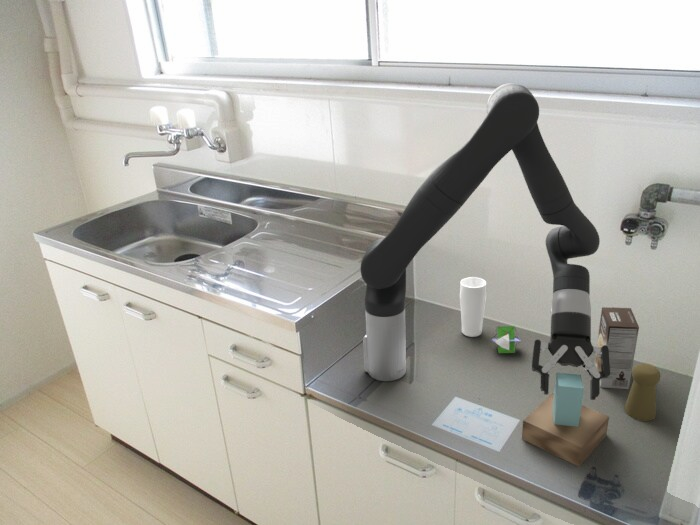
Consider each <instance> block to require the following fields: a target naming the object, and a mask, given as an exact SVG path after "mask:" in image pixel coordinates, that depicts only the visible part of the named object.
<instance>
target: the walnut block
mask: <svg viewBox="0 0 700 525" xmlns="http://www.w3.org/2000/svg"><path fill="white" fill-rule="evenodd" d="M553 399H554V392H552V393H551V394H549V395H548V397H546V398H545V399H544V400H543V401H542V402H541V403H540V404H538V406H537V407H535V409H533V410H532V412H530V413H529V414H528V415H527V416H526V417H525V418H523V419H522V429H521V430H522V432H521V440H524V441H525V442H527V443H530V444H532V445H534V446H535V447H538V448H540V449H542V450H544V451H546V452H547V453H551V454H552V455H554V456H556V457H559V458H561V459H562V460H565V461H567V462H569V463H570V464H573V465H575V466H577V467H580V466H581V465H582V464H583V463H584V462H585V461H586V459H587V458H588V457H589V456H590V455H591V454H592V453H593V451H594V450H595V449H596V448H597V447H598V446H599V445H600V443H601V442H602V441H603V440H604V439H605V437H606V436H607V434H608V433H607V432H608V428H609V420H610V419H609V418H610V416H609V415H607V414H604V413H602V412H600V411H597V410H595V409H593V408H590V407H587V406H585V405H583V404H582V406H581V413H580V421H579V427H575V426H565V425H556V424H554V419H553V412H552V408H553Z"/></svg>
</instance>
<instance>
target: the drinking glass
mask: <svg viewBox="0 0 700 525" xmlns="http://www.w3.org/2000/svg"><path fill="white" fill-rule="evenodd" d="M486 300H487V281H486V280H485V279H483V278H482V277H477V276H469V277H465V278H462V279H461V280H460V283H459V303H460V317H461V318H460V320H461V321H460V322H461V333H462V334H463V335H464V336H466V337H469V338H475V337H479V336H481V335H482V333H483V323H484V322H483V321H484V316H485V307H486V302H487V301H486Z"/></svg>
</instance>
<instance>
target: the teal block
mask: <svg viewBox="0 0 700 525" xmlns="http://www.w3.org/2000/svg"><path fill="white" fill-rule="evenodd" d="M584 391H585V386H584V382H583V379H582V374H579V373H577V374H576V373H566V372H563V373H562V372H556V373H555V383H554V391H553V393H554V399H553V408H552V412H553V419H554V424H556V425H565V426H575V427H579V421H580V413H581V406H582V405H583V397H584Z"/></svg>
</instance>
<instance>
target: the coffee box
mask: <svg viewBox="0 0 700 525" xmlns="http://www.w3.org/2000/svg"><path fill="white" fill-rule="evenodd" d="M600 312H601V313H600V320H599V326H598V327H599V328H598V336H597V341H596V342H597V343H596V347H602V346H604V345H606V346H608V348H609V362H610V375H609V376H608V377H607V378H603V379H600V388H605V389H606V388H608V389H609V388H610V389H620V390H621V389H623V390H630V383H631V379H632V378H631V377H632V371H633V368H634V366H633V364H634V361H635V354H636V348H637V344H638V336H639V331H640V326H639V324H638V321H637V318H636V317H635V314H634V312H633V310H632V308H631V307H605V306H604V307H603V306H602V307H601V311H600ZM594 367H595V368H596V369H597V371H598V372H600V371H601V361H600V358H598V357H597V355H596V354H595V359H594Z"/></svg>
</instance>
